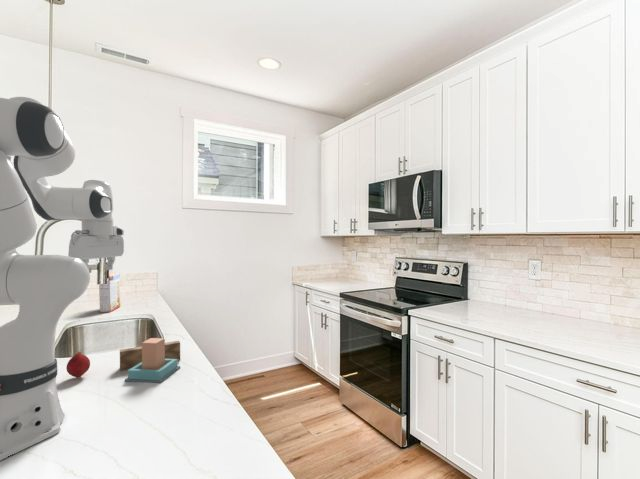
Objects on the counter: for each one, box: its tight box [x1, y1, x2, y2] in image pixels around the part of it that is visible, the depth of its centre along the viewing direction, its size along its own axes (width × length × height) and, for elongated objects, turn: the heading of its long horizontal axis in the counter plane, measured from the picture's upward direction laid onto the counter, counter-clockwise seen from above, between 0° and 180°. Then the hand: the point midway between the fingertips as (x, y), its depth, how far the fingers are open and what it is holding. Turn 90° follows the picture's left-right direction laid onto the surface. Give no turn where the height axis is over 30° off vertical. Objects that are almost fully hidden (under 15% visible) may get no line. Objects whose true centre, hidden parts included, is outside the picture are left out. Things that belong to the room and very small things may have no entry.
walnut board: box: [119, 340, 181, 372], centre depth 113 cm, size 18×2×6 cm, turn 121°
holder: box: [124, 359, 181, 384], centre depth 104 cm, size 11×11×3 cm
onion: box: [66, 350, 91, 379], centre depth 102 cm, size 6×6×8 cm
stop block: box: [141, 337, 166, 370], centre depth 104 cm, size 5×5×10 cm
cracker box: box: [98, 271, 121, 313], centre depth 193 cm, size 14×6×21 cm, turn 10°
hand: (98, 271), depth 112 cm, fingers open, 8 cm apart
